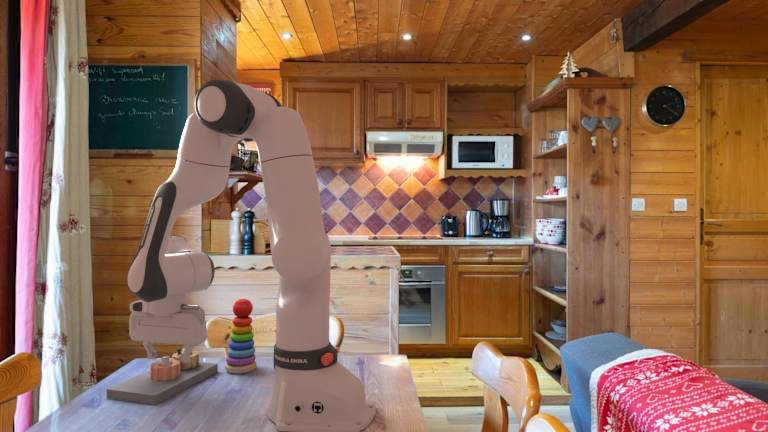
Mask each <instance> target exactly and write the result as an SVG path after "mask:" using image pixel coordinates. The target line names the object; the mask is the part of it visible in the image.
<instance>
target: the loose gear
mask: <svg viewBox="0 0 768 432" xmlns="http://www.w3.org/2000/svg"><path fill="white" fill-rule="evenodd" d="M149 369H150V370H149V371H150V379H151V380H152V379H154V381H158V380H162V381H166V380H168V379H174V378H175V377H179V376H180V374H181V362H180V361H177V360H175V359H173V360H172V359H170V365H167V366H161V360H158V361H155V362H152V363H150V366H149Z"/></svg>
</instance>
